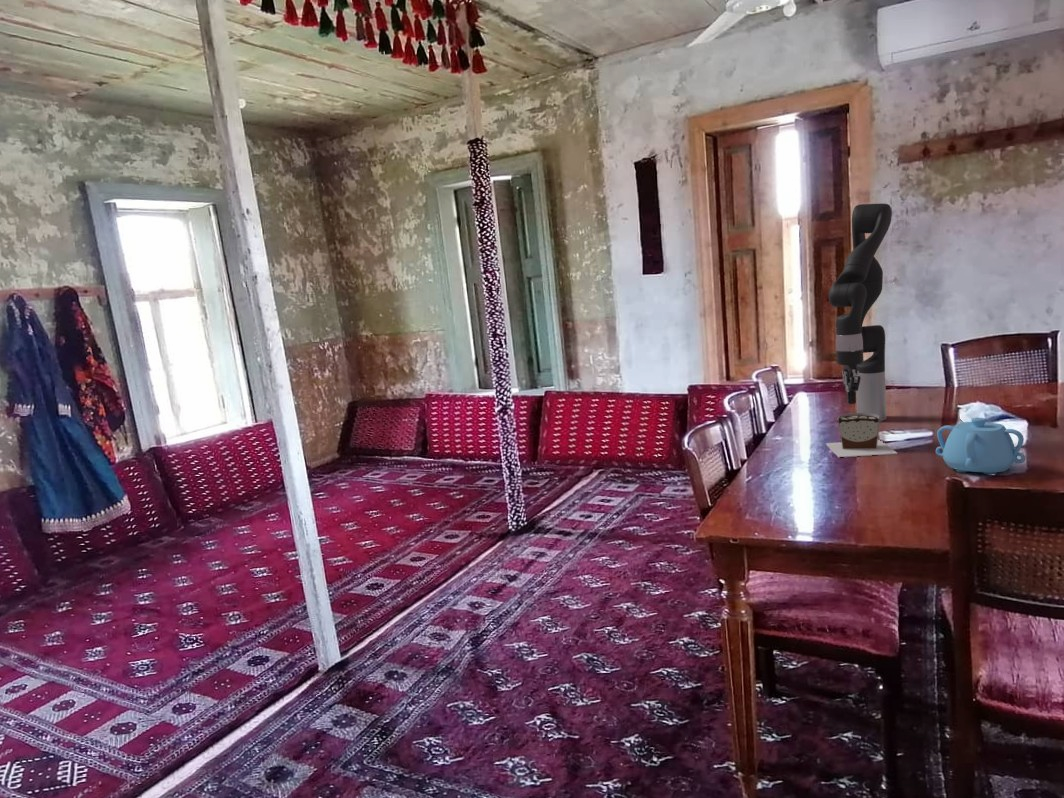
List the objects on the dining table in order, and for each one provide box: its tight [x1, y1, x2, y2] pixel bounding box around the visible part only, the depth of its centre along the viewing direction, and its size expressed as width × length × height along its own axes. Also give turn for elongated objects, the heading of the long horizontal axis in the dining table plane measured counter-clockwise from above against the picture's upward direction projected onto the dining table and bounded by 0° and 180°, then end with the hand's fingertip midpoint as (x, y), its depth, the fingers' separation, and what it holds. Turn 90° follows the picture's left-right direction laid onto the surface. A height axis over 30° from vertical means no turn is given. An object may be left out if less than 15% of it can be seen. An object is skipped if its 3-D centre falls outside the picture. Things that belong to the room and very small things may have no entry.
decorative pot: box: [935, 417, 1026, 476], centre depth 176 cm, size 16×16×14 cm
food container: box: [836, 412, 883, 449], centre depth 207 cm, size 12×6×10 cm, turn 67°
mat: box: [825, 439, 898, 459], centre depth 206 cm, size 16×16×1 cm
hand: (851, 403), depth 212 cm, fingers closed
